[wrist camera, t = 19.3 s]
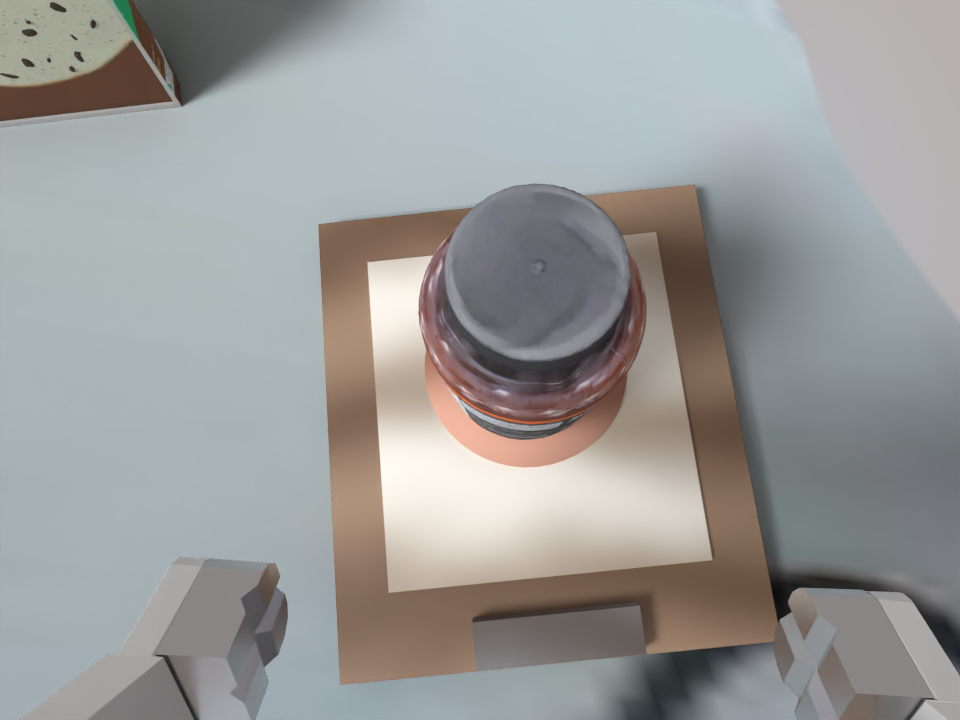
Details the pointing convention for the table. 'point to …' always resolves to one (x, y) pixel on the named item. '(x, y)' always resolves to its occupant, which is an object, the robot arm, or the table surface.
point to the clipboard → (534, 476)
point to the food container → (79, 61)
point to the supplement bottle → (532, 310)
